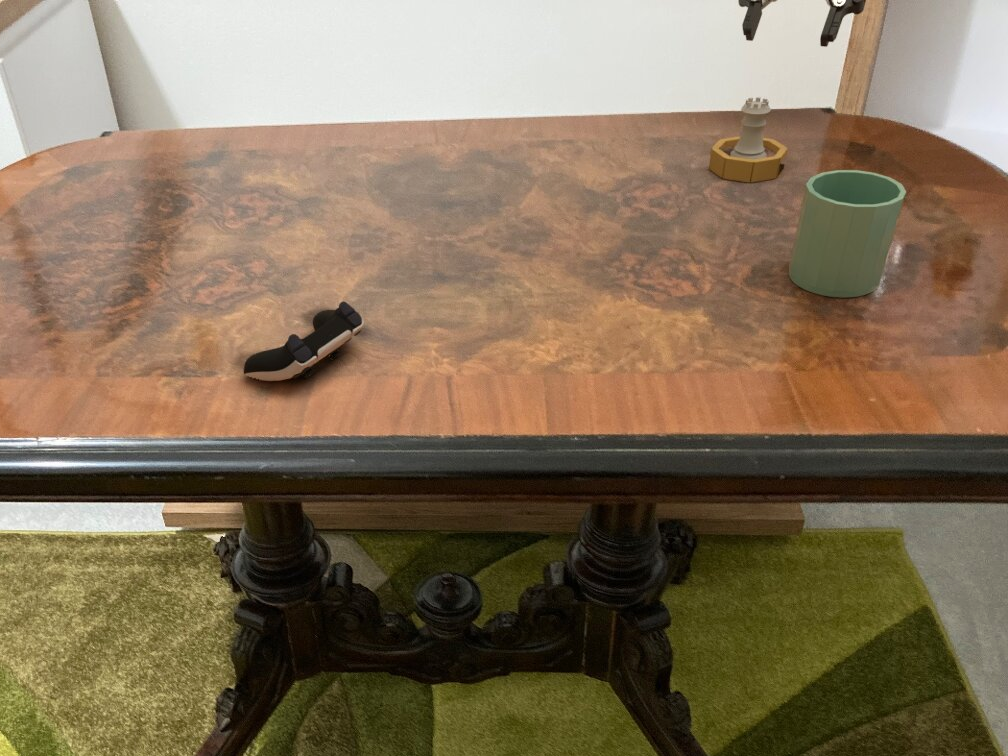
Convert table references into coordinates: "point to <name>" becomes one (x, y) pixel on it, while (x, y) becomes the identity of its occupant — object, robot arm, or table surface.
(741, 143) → the rook chess piece
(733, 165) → the holder ring
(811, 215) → the green cup
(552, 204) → the table surface
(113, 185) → the table surface
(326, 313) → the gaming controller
